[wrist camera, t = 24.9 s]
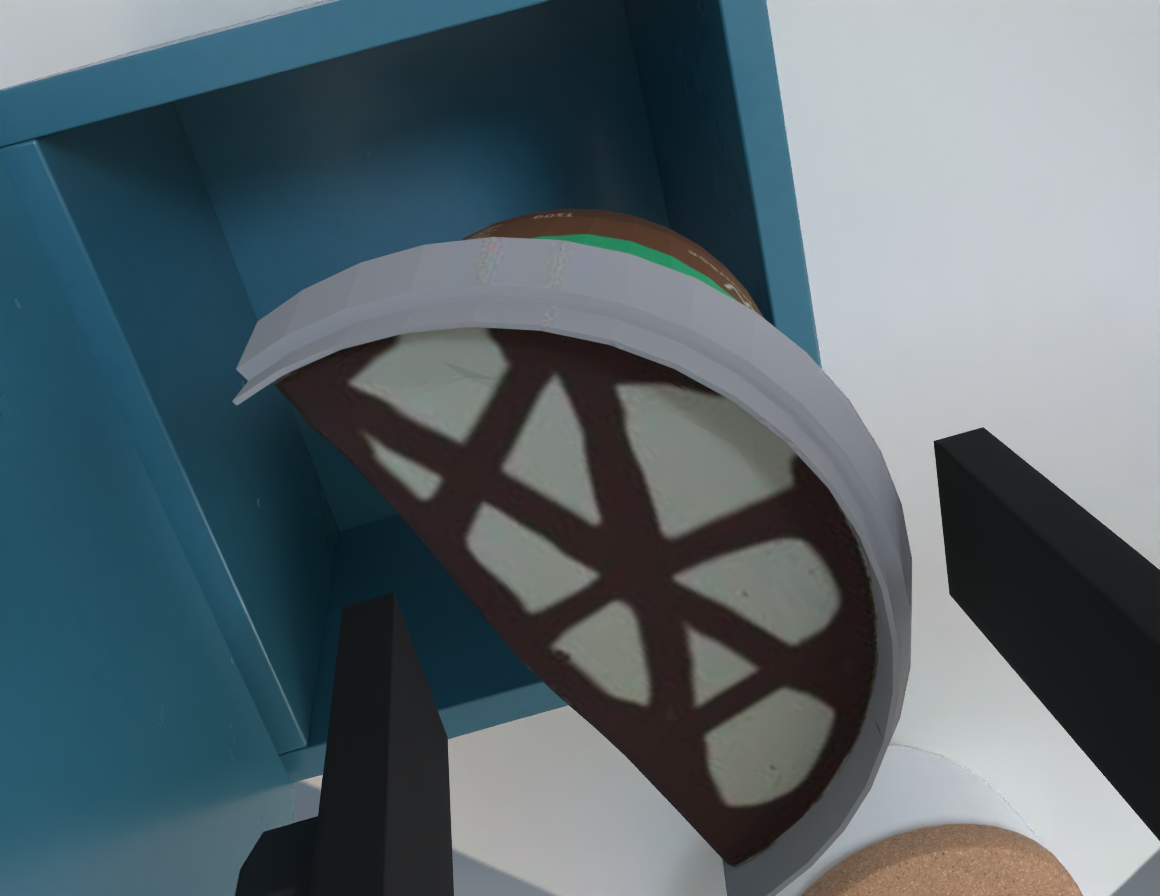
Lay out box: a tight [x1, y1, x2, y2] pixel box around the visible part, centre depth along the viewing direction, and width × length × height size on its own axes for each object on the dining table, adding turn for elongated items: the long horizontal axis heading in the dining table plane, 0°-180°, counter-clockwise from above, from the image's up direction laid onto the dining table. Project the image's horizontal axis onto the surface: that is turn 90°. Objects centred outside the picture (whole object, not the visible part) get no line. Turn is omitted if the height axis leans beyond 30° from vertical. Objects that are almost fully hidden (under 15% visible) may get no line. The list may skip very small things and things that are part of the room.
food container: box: [232, 209, 912, 896], centre depth 19 cm, size 12×6×10 cm, turn 38°
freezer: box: [0, 0, 822, 783], centre depth 31 cm, size 16×18×13 cm
